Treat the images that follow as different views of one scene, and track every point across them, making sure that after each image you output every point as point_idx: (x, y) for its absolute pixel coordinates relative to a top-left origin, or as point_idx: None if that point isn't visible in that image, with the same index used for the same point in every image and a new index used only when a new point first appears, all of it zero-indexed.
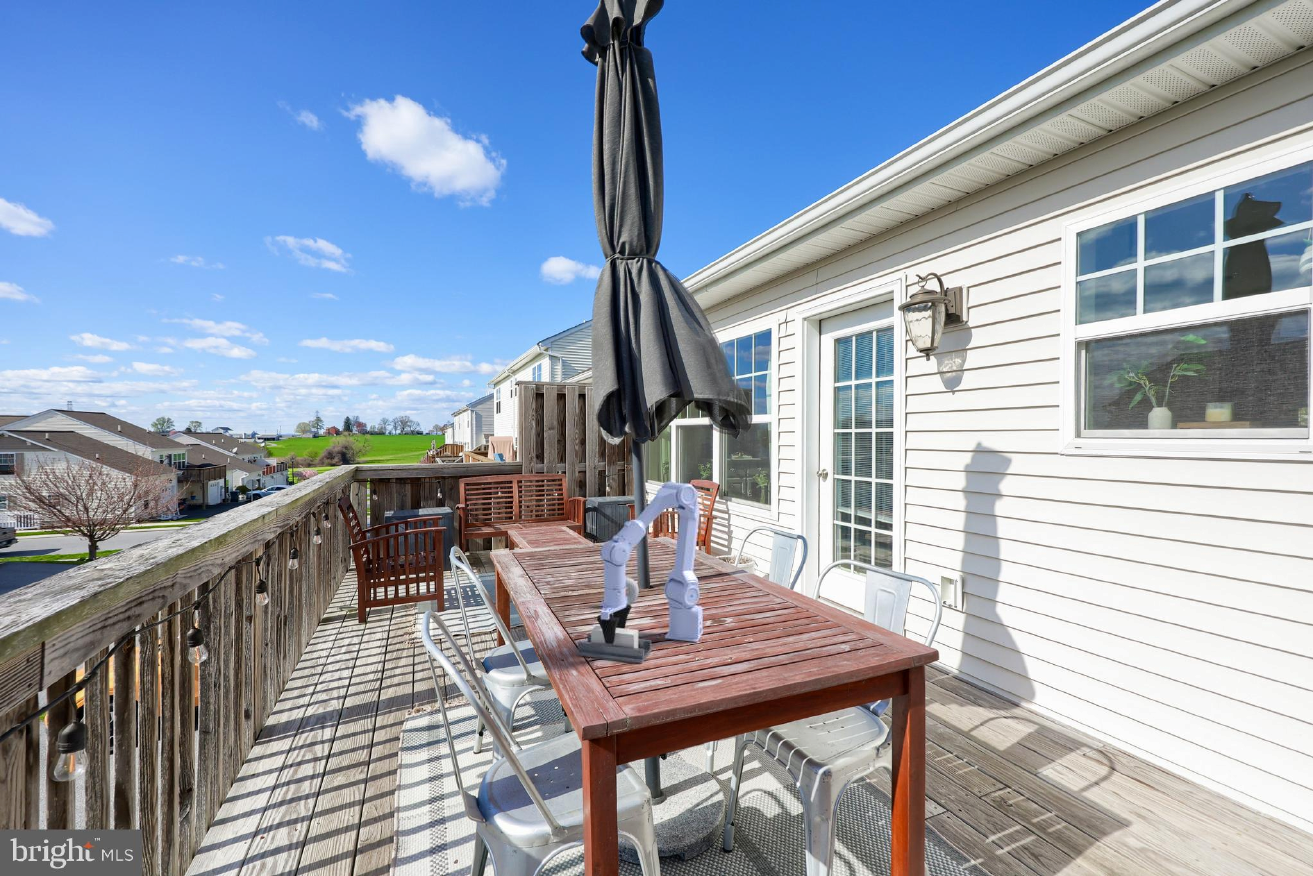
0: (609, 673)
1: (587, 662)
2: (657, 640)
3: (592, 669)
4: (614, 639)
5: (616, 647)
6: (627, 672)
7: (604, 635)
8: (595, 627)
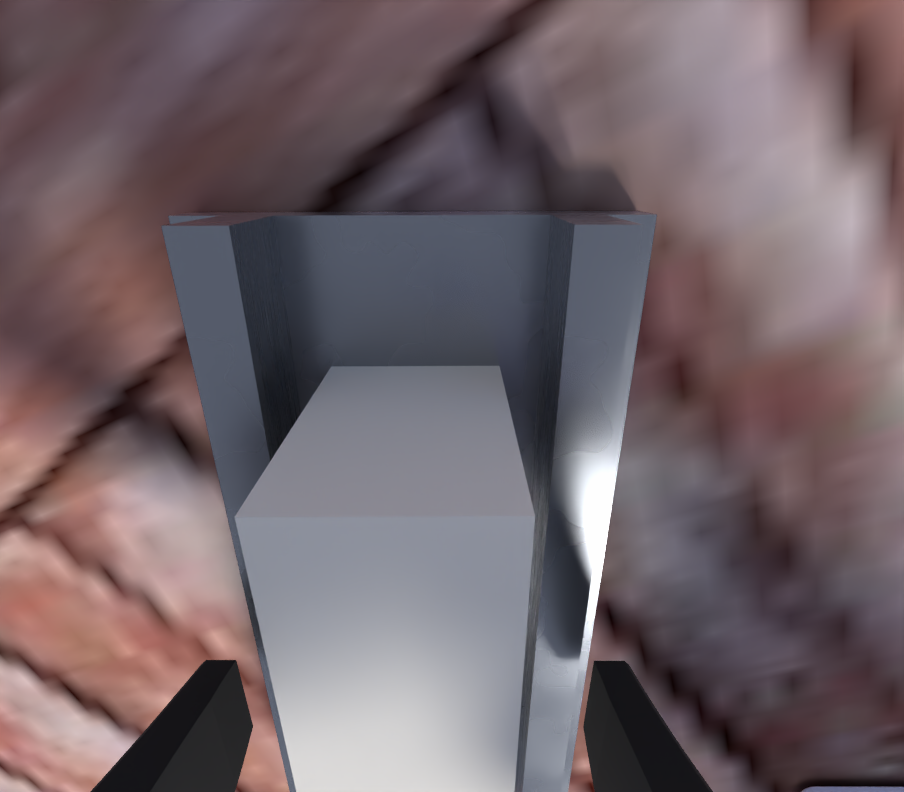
0: (37, 640)
1: (105, 411)
2: (767, 748)
3: (8, 509)
4: (232, 788)
5: (273, 706)
6: (130, 725)
7: (116, 777)
8: (414, 542)
